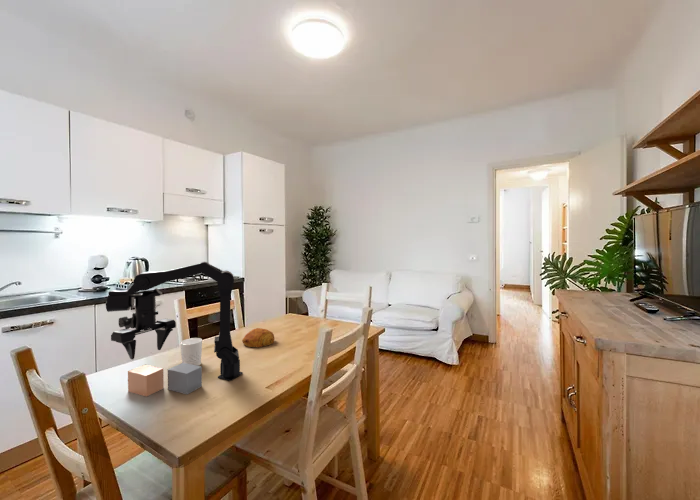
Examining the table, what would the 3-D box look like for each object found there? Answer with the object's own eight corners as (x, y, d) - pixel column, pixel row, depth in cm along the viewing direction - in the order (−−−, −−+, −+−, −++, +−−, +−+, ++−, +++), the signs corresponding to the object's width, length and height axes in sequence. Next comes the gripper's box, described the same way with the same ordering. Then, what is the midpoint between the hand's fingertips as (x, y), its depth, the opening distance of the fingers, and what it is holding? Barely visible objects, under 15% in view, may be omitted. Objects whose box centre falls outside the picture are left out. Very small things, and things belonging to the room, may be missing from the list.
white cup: (193, 370, 119) (193, 345, 119) (176, 368, 121) (175, 343, 121) (206, 362, 127) (206, 338, 127) (190, 360, 129) (190, 337, 128)
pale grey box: (201, 386, 106) (201, 366, 106) (187, 394, 101) (186, 373, 100) (183, 381, 109) (182, 362, 109) (167, 389, 104) (167, 369, 104)
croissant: (260, 340, 161) (259, 325, 161) (280, 342, 152) (278, 326, 152) (236, 347, 149) (235, 331, 150) (255, 350, 140) (254, 332, 141)
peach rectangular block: (163, 388, 104) (163, 368, 104) (146, 396, 99) (146, 375, 99) (145, 383, 108) (145, 364, 107) (128, 391, 102) (127, 371, 102)
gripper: (155, 302, 115) (156, 342, 115) (99, 312, 97) (100, 360, 98) (176, 304, 110) (177, 346, 111) (122, 316, 93) (122, 366, 94)
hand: (146, 354), depth 103 cm, fingers open, 9 cm apart
